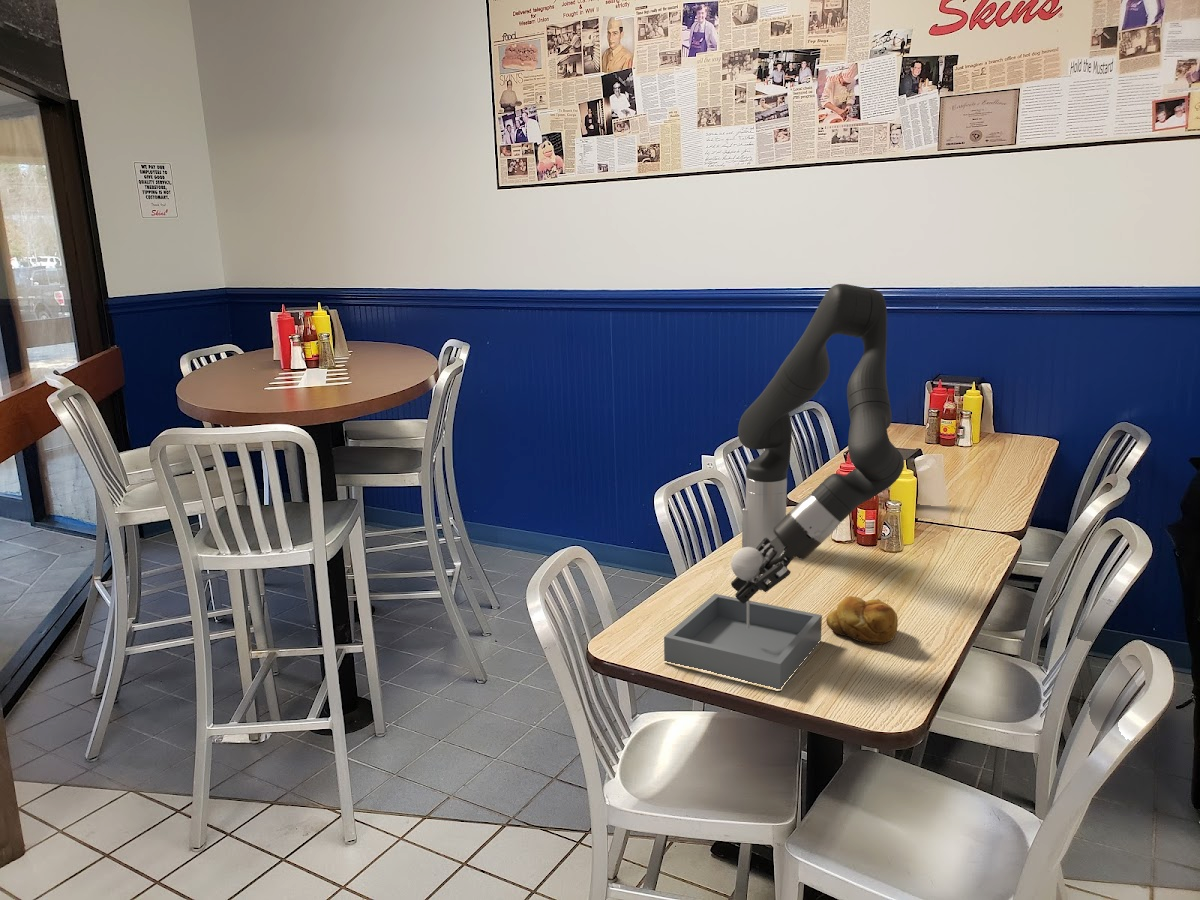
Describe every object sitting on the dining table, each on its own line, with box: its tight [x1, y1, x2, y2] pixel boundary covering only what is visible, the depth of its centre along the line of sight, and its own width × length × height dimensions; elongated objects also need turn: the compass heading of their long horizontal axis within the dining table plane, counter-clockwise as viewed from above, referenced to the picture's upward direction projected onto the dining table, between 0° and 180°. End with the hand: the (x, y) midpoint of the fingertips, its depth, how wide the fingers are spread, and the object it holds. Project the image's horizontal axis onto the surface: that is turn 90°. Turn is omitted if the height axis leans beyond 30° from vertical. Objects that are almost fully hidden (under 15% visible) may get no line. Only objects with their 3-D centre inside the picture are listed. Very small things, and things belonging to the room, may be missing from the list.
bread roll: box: [826, 596, 899, 645], centre depth 163 cm, size 13×10×8 cm
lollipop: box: [730, 547, 765, 629], centre depth 157 cm, size 6×6×15 cm
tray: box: [663, 593, 823, 689], centre depth 158 cm, size 21×21×5 cm
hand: (737, 593), depth 157 cm, fingers closed on lollipop, 4 cm apart
